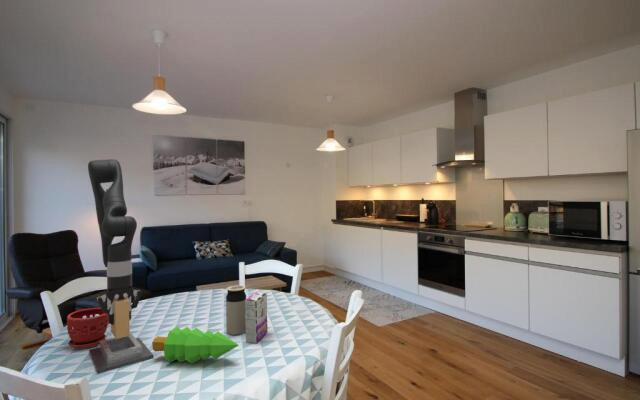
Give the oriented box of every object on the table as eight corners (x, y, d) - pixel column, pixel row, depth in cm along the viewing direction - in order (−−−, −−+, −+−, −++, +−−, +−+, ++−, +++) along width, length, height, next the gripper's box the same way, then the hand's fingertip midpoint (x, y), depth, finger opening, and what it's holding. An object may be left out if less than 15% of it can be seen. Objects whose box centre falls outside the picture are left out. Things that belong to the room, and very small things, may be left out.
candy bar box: (256, 331, 136) (255, 291, 137) (267, 332, 135) (267, 292, 136) (244, 343, 125) (244, 299, 126) (257, 344, 124) (256, 299, 125)
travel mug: (250, 329, 139) (249, 286, 139) (238, 336, 131) (237, 290, 132) (235, 326, 142) (234, 284, 142) (222, 333, 135) (221, 288, 135)
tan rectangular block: (115, 338, 112) (115, 302, 112) (111, 331, 118) (110, 297, 119) (129, 335, 114) (129, 300, 114) (123, 328, 121) (123, 295, 121)
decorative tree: (160, 319, 117) (241, 319, 112) (169, 344, 121) (248, 345, 116) (140, 344, 107) (228, 346, 102) (151, 370, 111) (236, 373, 106)
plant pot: (63, 354, 117) (63, 320, 117) (71, 341, 129) (70, 310, 129) (107, 347, 123) (107, 314, 123) (110, 334, 135) (110, 305, 135)
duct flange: (88, 352, 119) (88, 341, 119) (138, 340, 129) (138, 329, 129) (97, 373, 104) (97, 361, 104) (153, 357, 114) (153, 346, 114)
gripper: (97, 278, 109) (97, 331, 109) (144, 272, 119) (145, 320, 118) (93, 274, 115) (94, 325, 115) (139, 269, 124) (139, 315, 124)
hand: (120, 322), depth 117 cm, fingers closed on tan rectangular block, 4 cm apart
